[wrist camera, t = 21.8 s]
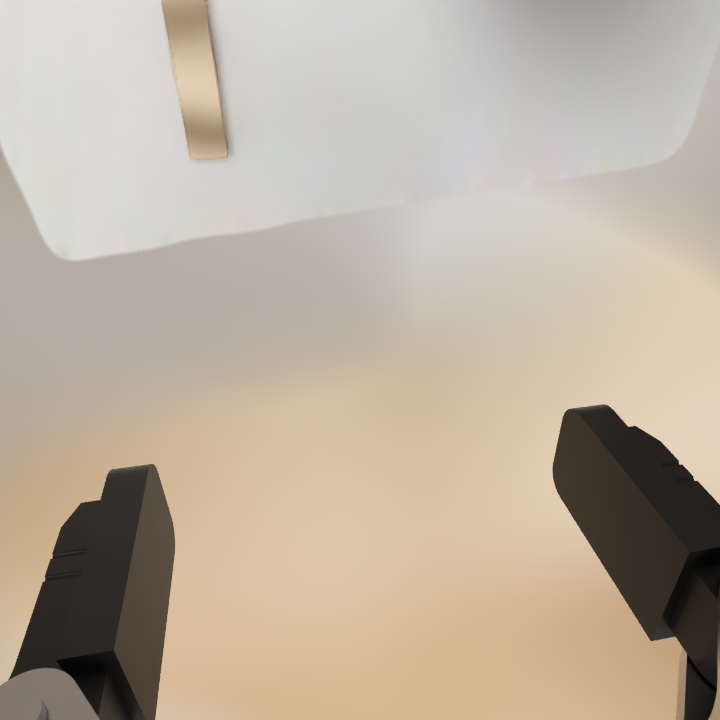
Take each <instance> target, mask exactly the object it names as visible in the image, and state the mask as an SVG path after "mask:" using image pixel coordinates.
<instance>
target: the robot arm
mask: <svg viewBox="0 0 720 720" xmlns="http://www.w3.org/2000/svg"><path fill="white" fill-rule="evenodd" d="M553 479H554V483H555V487H556V489H557V492H558V494H559V495H560V498H561V499H562V501H563V502H564V504H565V505H566V507H567V508H568V510H569V512H570V513H571V515H572V517H573V518H574V520H575V521H576V523H577V525H578V526H579V527H580V529H581V531H582V532H583V534H584V536H585V537H586V539H587V540H588V542H589V543H590V545H591V547H592V548H593V550H594V552H595V553H596V554H597V556H598V558H599V559H600V561H601V563H602V564H603V566H604V567H605V569H606V570H607V572H608V574H609V575H610V577H611V578H612V580H613V581H614V583H615V585H616V586H617V588H618V589H619V591H620V593H621V594H622V596H623V597H624V599H625V601H626V602H627V604H628V605H629V607H630V609H631V610H632V612H633V613H634V615H635V617H636V618H637V620H638V621H639V623H640V624H641V626H642V627H643V629H644V631H645V632H646V634H647V636H648V637H649V639H650V640H651V641H654V640H660V639H664V638H670V637H675V636H676V638H677V639H678V641H679V642H680V644H681V645H682V647H683V648H684V649H683V651H682V653H681V655H680V661H679V678H678V697H677V716H676V720H720V505H719V504H718V503H717V501H716V500H715V499H714V498H713V497H712V496H711V495H710V494H709V493H708V492H707V491H706V490H705V489H704V487H703V486H702V485H701V484H700V483H699V482H698V481H694V479H693V476H692V475H691V474H690V472H689V471H688V470H687V469H686V468H685V467H684V466H683V465H679V461H678V460H677V459H676V458H675V456H674V455H673V454H672V453H671V452H670V451H669V450H668V449H667V448H666V447H665V446H664V445H663V443H661V441H659V440H657V439H656V438H654V437H653V436H651V435H649V434H647V433H646V432H644V431H643V430H641V429H639V428H638V427H636V426H633V427H628V426H627V425H626V424H625V423H624V422H623V420H622V419H621V418H620V417H619V416H618V415H617V414H616V413H615V411H614V410H613V409H611V407H609V406H608V405H596V406H589V407H581V408H574V409H568V410H567V411H566V412H565V414H564V416H563V420H562V425H561V429H560V434H559V439H558V443H557V448H556V453H555V458H554V462H553ZM174 537H175V536H174V527H173V522H172V518H171V515H170V511H169V508H168V505H167V501H166V498H165V494H164V491H163V488H162V485H161V481H160V478H159V474H158V471H157V469H156V467H155V465H154V464H149V465H142V466H134V467H127V468H119V469H112V470H110V471H109V473H108V475H107V478H106V482H105V486H104V489H103V493H102V496H101V500H98V501H92V502H84V503H81V504H80V505H79V506H78V508H77V509H76V510H75V511H74V512H73V514H72V515H71V516H70V517H69V518H68V520H67V521H66V522H65V523H64V525H63V526H62V527H61V530H60V533H59V536H58V539H57V542H56V545H55V548H54V551H53V559H51V560H50V563H49V566H48V568H47V571H46V575H45V582H43V583H42V586H41V589H40V592H39V595H38V598H37V601H36V604H35V607H34V610H33V613H32V617H31V619H30V622H29V625H28V628H27V631H26V634H25V637H24V640H23V643H22V646H21V649H20V652H19V655H18V658H17V661H16V664H15V667H14V669H13V672H12V674H11V676H10V678H9V680H8V681H7V682H5V683H4V684H2V685H1V686H0V720H155V715H156V707H157V698H158V690H159V681H160V673H161V664H162V656H163V648H164V638H165V631H166V622H167V614H168V605H169V597H170V588H171V580H172V571H173V563H174V554H175V538H174Z"/></svg>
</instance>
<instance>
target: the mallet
mask: <svg viewBox="0 0 720 720" xmlns="http://www.w3.org/2000/svg"><path fill="white" fill-rule="evenodd" d="M161 1H162V7H163V12H164V18H165V23H166V29H167V34H168V40H169V45H170V50H171V56H172V61H173V67H174V72H175V78H176V83H177V89H178V94H179V100H180V105H181V110H182V116H183V121H184V127H185V132H186V138H187V143H188V149H189V154H190V159H205V158H220V157H227V156H228V145H227V138H226V131H225V124H224V117H223V111H222V104H221V97H220V90H219V84H218V77H217V70H216V63H215V56H214V50H213V43H212V36H211V29H210V22H209V16H208V9H207V2H206V0H161Z"/></svg>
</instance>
